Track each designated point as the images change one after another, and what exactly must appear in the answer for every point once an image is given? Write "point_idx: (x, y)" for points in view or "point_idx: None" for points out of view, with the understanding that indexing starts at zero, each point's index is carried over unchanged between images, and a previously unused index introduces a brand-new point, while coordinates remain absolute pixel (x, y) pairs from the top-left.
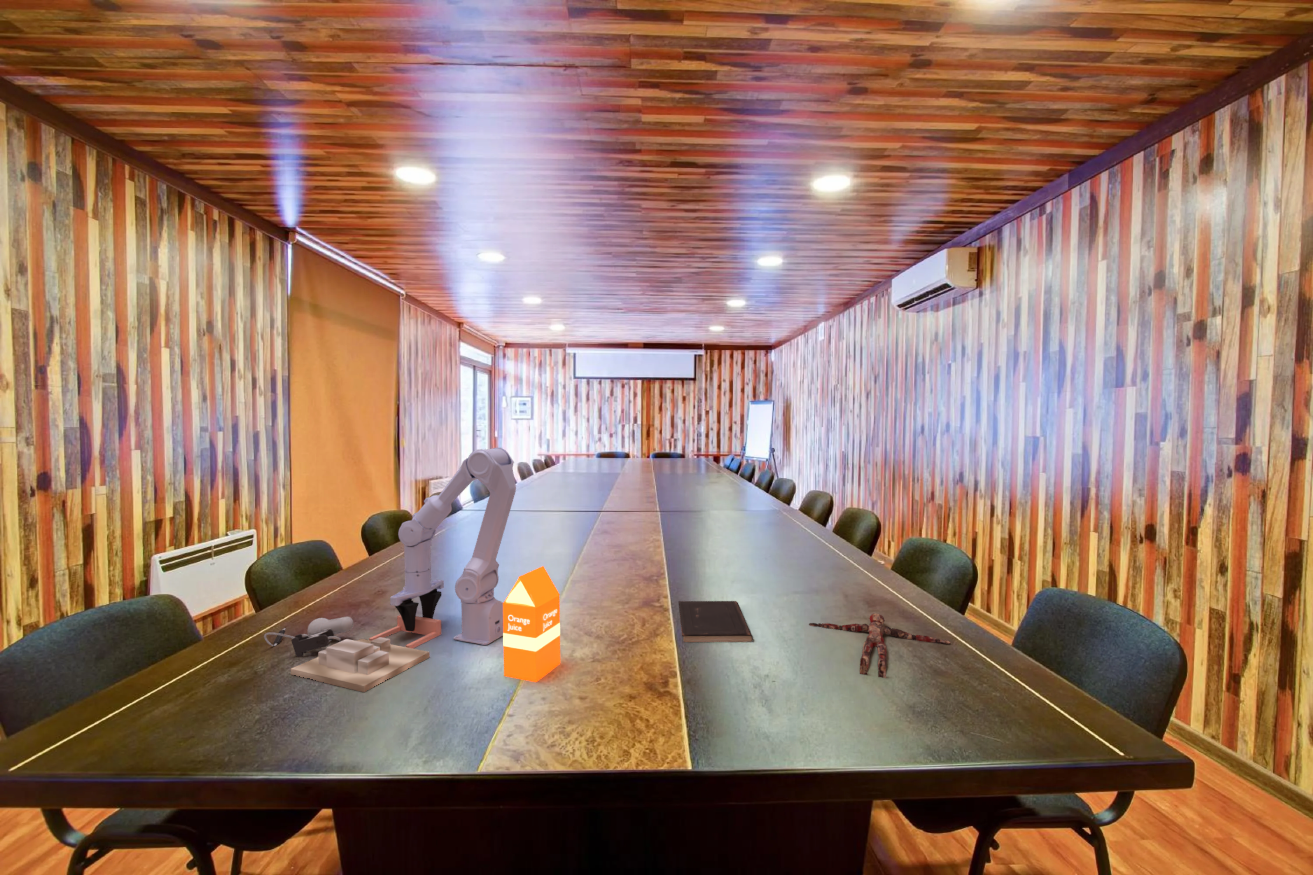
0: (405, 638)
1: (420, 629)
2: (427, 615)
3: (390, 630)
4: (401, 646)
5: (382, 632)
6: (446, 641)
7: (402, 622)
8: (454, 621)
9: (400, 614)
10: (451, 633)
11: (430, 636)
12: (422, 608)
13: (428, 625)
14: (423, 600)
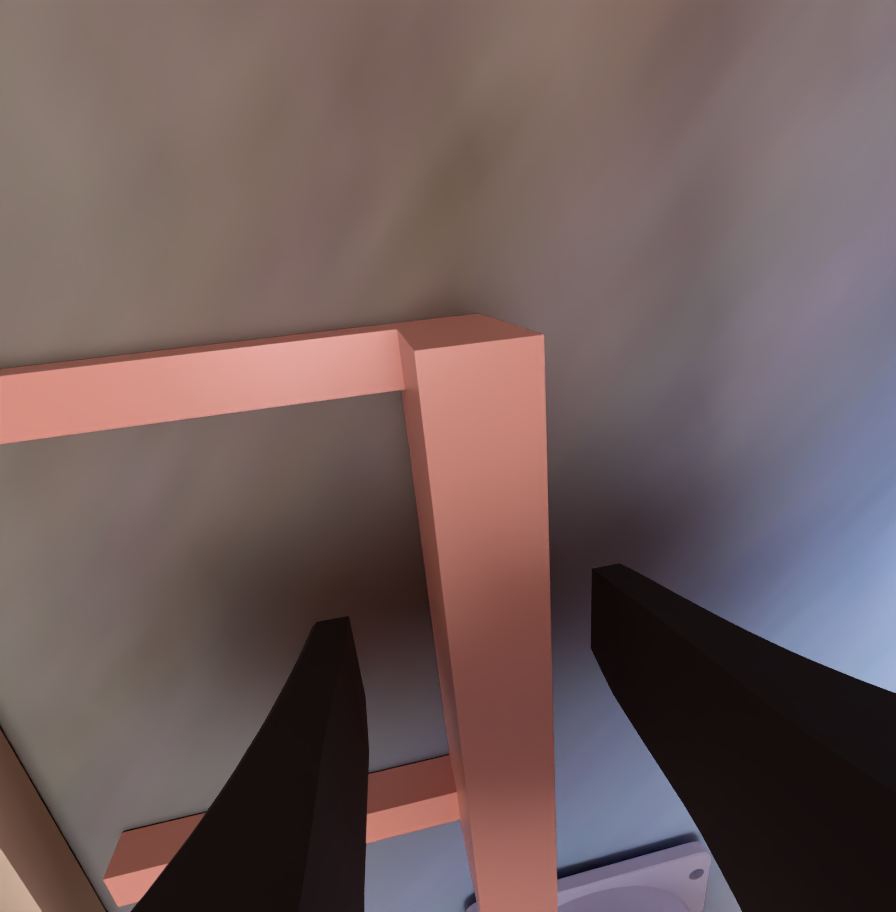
0: (280, 622)
1: (442, 674)
2: (638, 684)
3: (233, 399)
4: (41, 906)
5: (111, 365)
6: (424, 887)
7: (415, 445)
8: (779, 619)
9: (192, 839)
10: (556, 800)
11: (389, 825)
12: (710, 671)
13: (463, 814)
14: (839, 848)
